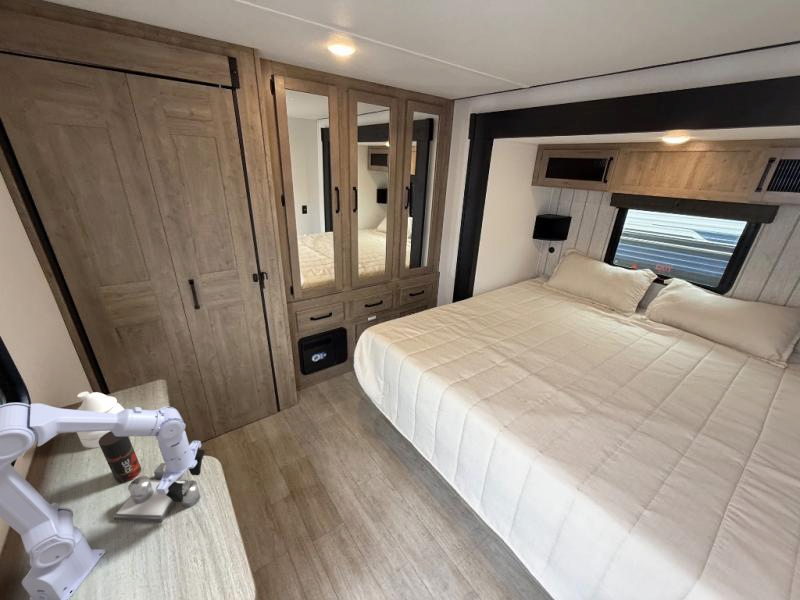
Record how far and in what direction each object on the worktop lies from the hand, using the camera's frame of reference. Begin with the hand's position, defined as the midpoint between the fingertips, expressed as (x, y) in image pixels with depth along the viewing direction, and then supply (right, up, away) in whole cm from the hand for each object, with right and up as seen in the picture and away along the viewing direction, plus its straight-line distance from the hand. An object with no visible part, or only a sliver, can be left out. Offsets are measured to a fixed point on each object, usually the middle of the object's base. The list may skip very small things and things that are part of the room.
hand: (187, 486), depth 84 cm
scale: (-10, -4, +3) cm, 11 cm away
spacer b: (0, -5, +2) cm, 5 cm away
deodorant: (-23, -1, +8) cm, 25 cm away
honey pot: (-42, +5, +21) cm, 48 cm away
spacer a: (-13, -3, +1) cm, 13 cm away
